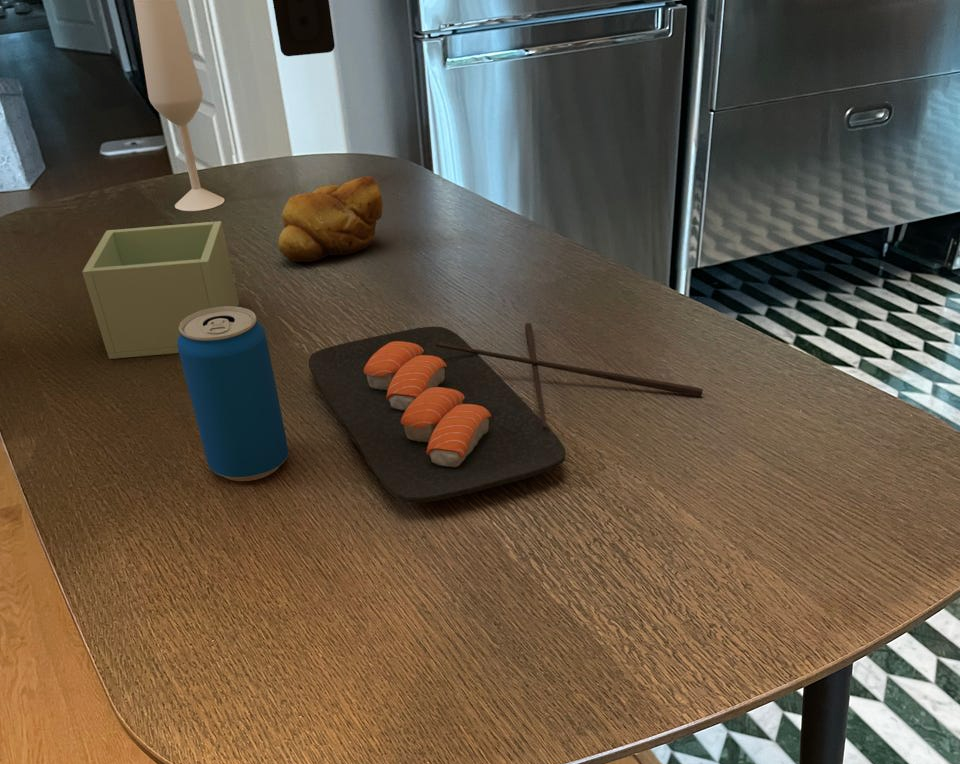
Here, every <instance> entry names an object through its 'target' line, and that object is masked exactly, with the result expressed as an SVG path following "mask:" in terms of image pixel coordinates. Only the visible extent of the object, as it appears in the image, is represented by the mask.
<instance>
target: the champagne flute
mask: <svg viewBox="0 0 960 764" xmlns="http://www.w3.org/2000/svg"><path fill="white" fill-rule="evenodd" d="M133 5H134V13H135V18H136V24H137V30H138V37H139V45H140V51H141V58H142V64H143V71H144V76H145V77H144V78H145V83H146V84H145V85H146V90H147V97H148V100H149V102H150V104H151V105H152V106H153V108H154V110H156V111H157V112H158V113H159V114H160V115H161V116H162V117H164V118H165V119H167V120H168V121H169V122H170V123H172V124H174V125H176V126H177V129H178V133H179V137H180V143H181V147H182V150H183V155H184V160H185V164H186V168H187V169H186V170H187V173H188V178H189V182H190V186H191V189H190V190H189V191H187V192H186V194H184V196H182V197H181V198H180V199H179V200H178V201H177V202H176V203H175V204H174V208H175V209H176V210H178V211H183V212H199V211H205V210H210V209H213V208H217V207H218V206H221V205H222V204H224V202H225V198H224V197H222V196H220V195H218V194H216V193H213V192H212V191H210V190H207V189H206V188H203V187H202V186H201V183H200V178H199V173H198V169H197V164H196V159H195V155H194V151H193V145H192V142H191V141H192V140H191V137H190V132H189V128H188V124H189V123H190V122H191V121H192V120H193V118H194V117H195V115H196V114H197V113H198V110H199V109H200V106H201V103H202V100H203V94H204V93H203V89H202V86H201V83H200V79H199V75H198V73H197V69H196V66H195V63H194V58H193V55H192V52H191V48H190V45H189V41H188V37H187V34H186V31H185V27H184V24H183V21H182V17H181V14H180V10H179V8H178V7H179V6H178V4H177V1H176V0H133Z"/></svg>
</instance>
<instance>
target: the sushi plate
mask: <svg viewBox="0 0 960 764" xmlns="http://www.w3.org/2000/svg"><path fill="white" fill-rule="evenodd" d="M524 327H525V330H524V331H525V334H526V335H525V336H526V341H527V346H528V352H529V356H530V358H528V357H527V358H526V357H522V356H516V355H510V354H505V353H499V352H493V351H487V350H481V349H476V348H472V346H471V345H469V343H467V342H466V341H465V340H464V339H463V338H462V337H461V336H460V335H459V334H458V333H456V332H454V331H453V330H451V329H449V328H446V327H442V326H423V327H417V328H411V329H405V330H401V331H394V332H390V333H386V334H380V335H376V336H372V337H367V338H362V339H357V340H353V341H349V342H344V343H340V344H335V345H331V346H329V347H325V348H322V349H320V350H317V351H315V352H313V353H312V354H311V355H310V356H309V358H308V368H309V371H310V373H311V375H312V377H313V379H314V380H315V382H316V383H317V385H318V387H319V388H320V390H321V391H322V393H323V395H324V396H325V398H326V399H327V401H328V402H329V404H330V406H331V408H332V409H333V410H334V412H335V414H336V415H337V417H338V418H339V420H340V421H341V423H342V425H343V427H345V429H346V431H347V433H348V434H349V436H350V438H351V439H352V440H353V442H354V443H355V445H356V446H357V448H358V450H359V451H360V453H361V455H362V456H363V458H364V459H365V461H366V462H367V464H368V465H369V467H370V469H371V470H372V472H373V473H374V475H375V476H376V478H377V479H378V480H379V482H380V483H381V485H382V486H383V487H384V488H385V489H386V490H387V491H388V493H389V494H390V495H392V497H394V498H396V499H398V500H400V501H402V502H405V503H412V504H418V503H419V504H421V503H430V502H436V501H442V500H446V499H451V498H455V497H460V496H463V495H468V494H472V493H476V492H481V491H483V490H484V491H485V490H487V489H491V488H495V487H499V486H502V485H507V484H511V483H514V482H518V481H521V480H525V479H528V478H531V477H535V476H538V475H541V474H544V473H547V472H549V471H552V470H554V469H556V468H557V467H559V466H560V465H562V464H563V463H564V462H565V461H566V457H567V453H566V449H565V446H564V444H563V442H562V441H561V439H559V437H558V436H557V435H556V434H555V432H554V431H553V430H552V429H551V428H550V427H549V426H548V425H547V419H546V413H545V407H544V400H543V394H542V388H541V387H542V386H541V380H540V374H539V368H538V367H544V368H549V369H554V370H560V371H563V372H569V373H575V374H579V375H585V376H589V377H594V378H599V379H603V380H610V381H614V382H619V383H623V384H628V385H629V384H630V385H634V386H639V387H643V388H644V387H645V388H650V389H653V390H654V389H655V390H659V391H664V392H665V391H666V392H670V393H675V394H680V395H686V396H691V395H692V396H691V397H696V396H701V395H703V393H704V392H703V391H704V389H703V388H701V387H696V386H691V385H687V384H686V385H685V384H680V383H674V382H669V381H663V380H656V379H651V378H645V377H640V376H634V375H628V374H622V373H616V372H609V371H604V370H597V369H592V368H586V367H584V368H583V367H580V366H574V365H569V364H562V363H556V362H549V361H544V360H538V359H537V352H536V346H535V339H534V333H533V327H532V323H531V322H527V323H525V324H524ZM480 355H482V356H485V357H490V358H491V357H492V358H496V359H502V360H507V361H511V362H517V363H523V364H529V365H531V369H532V373H533V379H534V385H535V391H536V397H537V403H538V409H539V415H540V417H539V415H537V413H536V412H534V410H532V408H531V407H530V406H529V405H528V404H527V403H526V402H525V401H524V400H523V399H522V398H521V397H520V396H519V395H518V393H516V392H515V390H513V388H512V387H511V386H510V385H508V383H507V382H506V381H504V379H502V377H501V376H500V375H499V374H498V373H497V372H496V371H495V370H494V369H493V368H492V367H491V366H490V365H489V364H488V363H487V361H485V360H484V359H483V358H482V357H481V356H480ZM701 397H702V396H701Z"/></svg>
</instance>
